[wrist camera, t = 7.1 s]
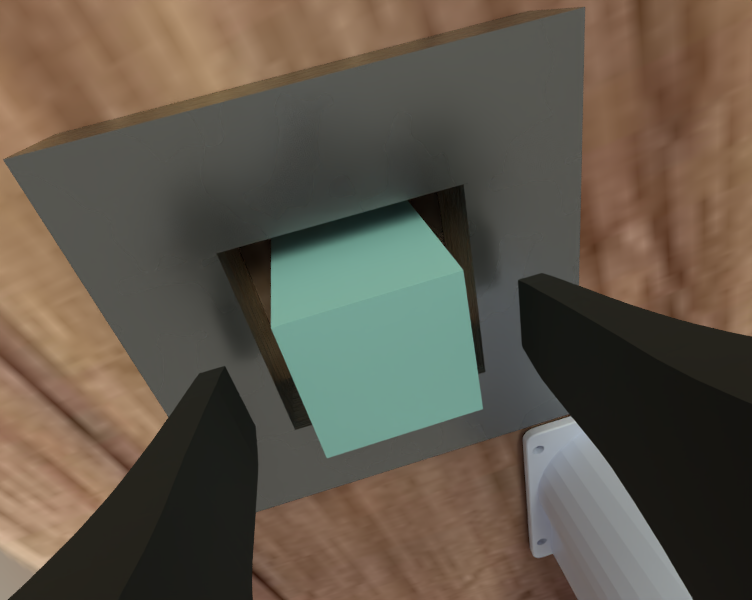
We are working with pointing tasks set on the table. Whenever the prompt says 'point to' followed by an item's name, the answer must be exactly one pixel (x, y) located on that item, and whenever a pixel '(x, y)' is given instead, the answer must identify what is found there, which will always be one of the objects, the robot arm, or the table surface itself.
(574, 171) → the grey square-hole plate
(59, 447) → the table surface
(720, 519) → the robot arm
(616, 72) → the table surface
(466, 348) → the teal block
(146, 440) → the table surface
